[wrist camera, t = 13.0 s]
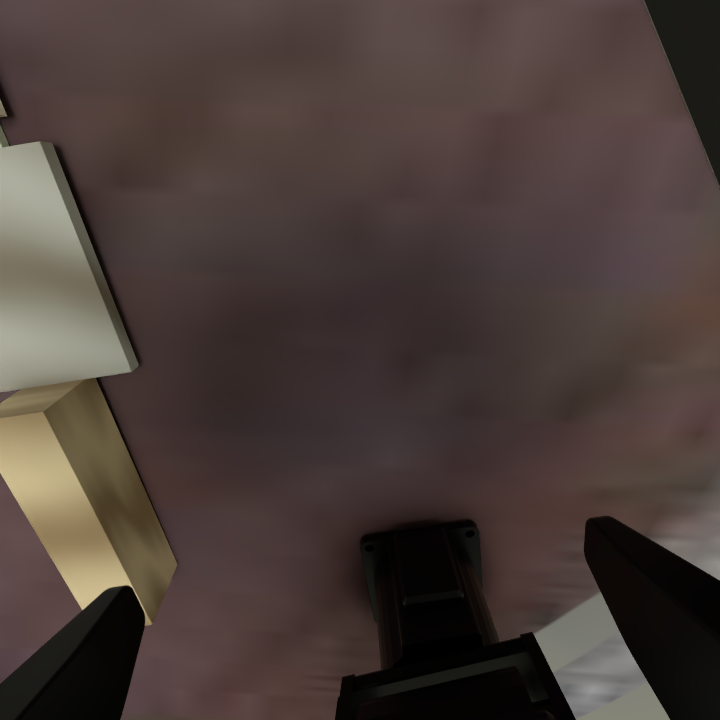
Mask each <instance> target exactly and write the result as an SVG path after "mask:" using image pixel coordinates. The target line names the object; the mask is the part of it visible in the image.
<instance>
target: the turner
mask: <svg viewBox="0 0 720 720" xmlns="http://www.w3.org/2000/svg"><path fill="white" fill-rule="evenodd" d="M138 366H139V364H138V362H137V359H136V357H135V354H134V352H133V349H132V347H131V344H130V341H129V339H128V336H127V334H126V331H125V329H124V326H123V323H122V321H121V318H120V316H119V313H118V311H117V308H116V306H115V303H114V300H113V298H112V295H111V293H110V290H109V288H108V285H107V282H106V280H105V277H104V275H103V272H102V270H101V267H100V265H99V262H98V259H97V257H96V254H95V252H94V249H93V247H92V244H91V241H90V239H89V236H88V234H87V231H86V229H85V226H84V224H83V221H82V218H81V216H80V213H79V211H78V208H77V206H76V203H75V200H74V198H73V195H72V193H71V190H70V188H69V185H68V183H67V180H66V177H65V175H64V172H63V170H62V167H61V165H60V162H59V159H58V157H57V154H56V152H55V149H54V147H53V144H52V143H49V142H41V141H39V142H33V143H27V144H21V145H15V146H9V147H3V148H0V392H5V391H12V390H18V389H21V390H20V391H18V392H17V393H15V394H13V395H12V396H10V397H9V398H7V399H6V400H4V401H3V402H1V403H0V473H1V475H2V477H3V478H4V480H5V482H6V483H7V485H8V487H9V488H10V490H11V492H12V493H13V495H14V497H15V498H16V500H17V502H18V503H19V505H20V507H21V508H22V510H23V512H24V513H25V515H26V517H27V518H28V520H29V522H30V523H31V525H32V527H33V528H34V530H35V532H36V533H37V535H38V537H39V538H40V540H41V542H42V543H43V545H44V547H45V548H46V550H47V552H48V553H49V555H50V557H51V558H52V560H53V562H54V563H55V565H56V567H57V568H58V570H59V572H60V573H61V575H62V577H63V578H64V580H65V582H66V583H67V585H68V587H69V589H70V590H71V592H72V594H73V595H74V597H75V599H76V600H77V602H78V604H79V605H80V607H81V609H82V610H83V609H84V608H86V607H87V606H88V605H89V604H90V603H91V602H92V601H93V600H95V599H96V598H97V597H98V596H99V595H100V594H101V593H102V592H104V591H105V590H106V589H108V588H111V587H117V586H124V585H128V586H130V587H132V588H133V590H134V592H135V594H136V596H137V598H138V600H139V602H140V604H141V606H142V608H143V610H144V613H145V625H152V624H153V621H154V619H155V617H156V614H157V612H158V610H159V607H160V605H161V603H162V600H163V598H164V595H165V593H166V591H167V588H168V586H169V584H170V581H171V579H172V577H173V574H174V572H175V569H176V567H177V565H178V564H177V562H176V559H175V557H174V555H173V553H172V550H171V548H170V546H169V544H168V541H167V539H166V537H165V534H164V532H163V530H162V528H161V525H160V523H159V521H158V519H157V516H156V514H155V512H154V510H153V507H152V505H151V503H150V500H149V498H148V496H147V494H146V491H145V489H144V487H143V485H142V482H141V480H140V478H139V475H138V473H137V471H136V469H135V466H134V464H133V462H132V460H131V457H130V455H129V453H128V450H127V448H126V446H125V444H124V441H123V439H122V437H121V435H120V432H119V430H118V428H117V425H116V423H115V421H114V419H113V416H112V414H111V412H110V410H109V407H108V405H107V403H106V400H105V398H104V396H103V394H102V391H101V389H100V387H99V385H98V382H97V380H96V377H102V376H109V375H115V374H122V373H128V372H132V371H133V370H134V369H136V368H137V367H138Z"/></svg>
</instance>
